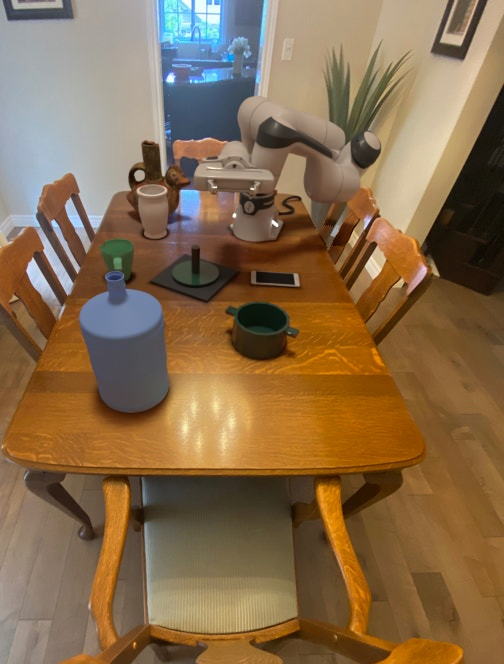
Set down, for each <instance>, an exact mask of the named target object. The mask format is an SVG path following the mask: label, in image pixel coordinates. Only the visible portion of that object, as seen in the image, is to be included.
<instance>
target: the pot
mask: <svg viewBox="0 0 504 664" xmlns="http://www.w3.org/2000/svg"><path fill="white" fill-rule="evenodd" d="M224 314H226V315H229V316H231V317H233V323H232V333H231V343H232V346H233V348H234V349H235V350H236V351H237V352H238V353H240V354H241V355H242V356H245V357H247V358H251V359H258V360H265V359H271V358H274V357H276V356H278V355H279V354H281V352H282V351H283V350H284V348H285V346H286V341H287V337H290V338H292V339H296V338H297V337H298V335H299V334H300V331H301V330H300V329H298V328H295V327H292V326H290V325H291V317H290V315H289V314H288V312H287V311H286V309H284V308H282V307H280V306H279V305H278V304H275V303H272V302H268V301H257V300H256V301H251V302H246V303H243V304H242V305H239V307H235V306H232V305H229V306H228V307H227V308H226V309H225V310H224Z"/></svg>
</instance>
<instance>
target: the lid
mask: <svg viewBox="0 0 504 664" xmlns="http://www.w3.org/2000/svg"><path fill="white" fill-rule="evenodd" d="M190 256H191V261H185V262H182V263H179V264H178V265H176V266H175V267H174V268H173V270H172V276H173V278H174V279H175V280H176V281H177V282H179V283H181V284H184V285H187V286H205V285H208V284H211V283H213V282H214V281H216V280H217V278H218V276H219V270H218V269H217V267H216V266H214V265H213V264H211V263H209V262H205V261H200V259H201V246H200V245H199V244H192V245H191V247H190Z"/></svg>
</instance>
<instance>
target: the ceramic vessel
mask: <svg viewBox="0 0 504 664" xmlns="http://www.w3.org/2000/svg"><path fill="white" fill-rule="evenodd" d="M140 145H141V156H142V161H139V162H136V163H134V164H133V165H132V166H131V168H130V169H129V171H128V175H127V180H128V181H127V182H128V186H129V189H130V191H129V192H127V194H126V195H125V198H126V200H127V201H128V203H129V204H130V206H131V207H132V208H133V209H134V210H135V211H136V212H138V213H139V208H138V199H139V196H138V195H137V189H138V188H139V187H141V186H145V185H160V186H164V187H165V188H167V195H166V197H167V201H168V218H169V217H170V216H172V215H173V214H174V213H175V212H176V211H177V209H178V207H179V204H180V191H181V189H184V188H187V187H189V186H190V185H191V182H192V181H191V179H189V178H187V176H186V173H184V172H183V169H182V168H181V166H180V165H177V164H170V165H169V166H168V168H167V169H166V171H165V174H164V175H163V172H162V162H161V150H160V149H161V148H160V144H159V142H157V143H156V142H155V141H153V140H151V141H150V140H147V139H145V140H143V141H141V144H140ZM138 171H142V172H143V173H144V178H143V179H141V180H137V179H136V177H135V173H136V172H138Z"/></svg>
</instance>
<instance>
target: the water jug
mask: <svg viewBox="0 0 504 664" xmlns="http://www.w3.org/2000/svg"><path fill="white" fill-rule="evenodd" d="M104 279H105V281H106V288H107V290H106V291H104V292H101V293H99V294H97V295H95V296H93V297H92V298H90V299H88V300H87V301H86V302H85V303H84V304H85V305H84V306H83V305H82V307H81V309H80V311H79V314H78V320H79V328H80V331H81V336H82V338H83V340H84V342H85V346H86V350H87V353H88V357H89V363H90V366H91V369H92V371H93V373H94V376H95V380H96V383H97V389H98V393H99V396H100V398H101V400H102V401H103V403H104V404H105V405H106V406H107V407H109V408H111V409H112V410H115V411H117V412H121V413H127V414H129V413H130V414H134V413H141V412H145V411H148V410H150V409H153V408H154V407H156V406H157V405H159V404H160V403H161V402H162V401H163V400H164V399H165V398H166V396H167V394H168V393H169V392H168V391H169V388H170V378H169V374H168V354H167V353H168V352H167V348H166V336H165V335H166V334H165V315H164V312H163V307H162V304H161V303H160V302H159V300H158V299H157V298H156V297H155V296H153V295H152V294H150V293H148V292H145V291H142V290H139V289H132V288H127V286H126V281H124V274H123V273H122V272H118V271H113V272H110V271H108V272H107V273H106V274H105V276H104Z"/></svg>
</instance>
